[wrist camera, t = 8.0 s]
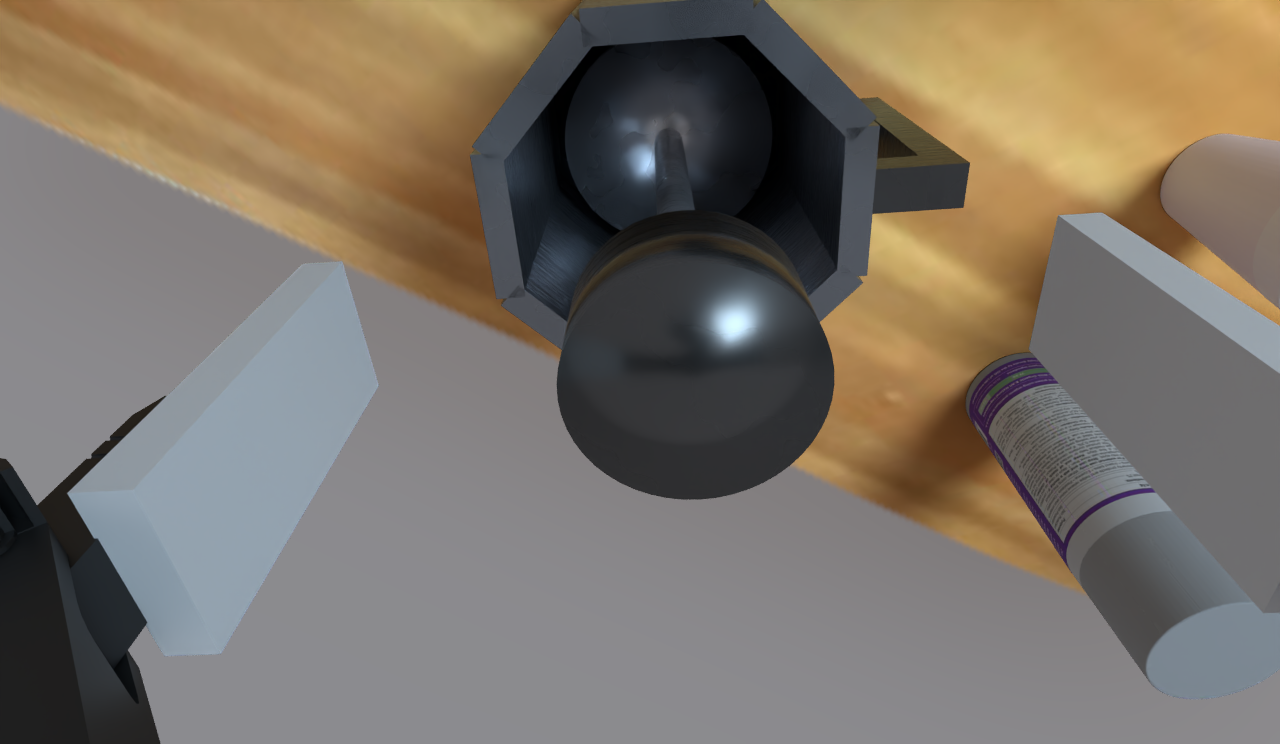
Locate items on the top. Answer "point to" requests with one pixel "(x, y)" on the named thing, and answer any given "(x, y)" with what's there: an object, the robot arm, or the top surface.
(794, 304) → the plunger
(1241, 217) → the smoothie
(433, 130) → the top surface
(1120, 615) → the container
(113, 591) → the robot arm
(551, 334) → the mug
